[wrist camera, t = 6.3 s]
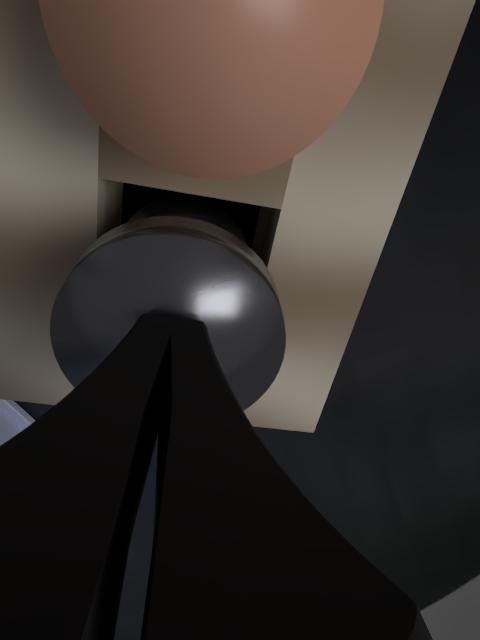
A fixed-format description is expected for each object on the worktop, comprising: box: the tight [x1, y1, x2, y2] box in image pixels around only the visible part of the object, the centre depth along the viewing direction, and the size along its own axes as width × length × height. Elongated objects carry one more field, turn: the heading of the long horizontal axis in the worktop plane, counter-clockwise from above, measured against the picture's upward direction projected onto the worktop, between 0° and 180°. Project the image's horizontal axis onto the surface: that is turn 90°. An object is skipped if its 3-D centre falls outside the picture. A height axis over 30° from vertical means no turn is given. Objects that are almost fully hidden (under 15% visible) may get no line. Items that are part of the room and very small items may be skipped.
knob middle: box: [38, 0, 384, 179], centre depth 9 cm, size 5×5×4 cm
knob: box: [50, 196, 286, 411], centre depth 12 cm, size 5×5×4 cm
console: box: [0, 0, 476, 433], centre depth 12 cm, size 24×11×4 cm, turn 170°
